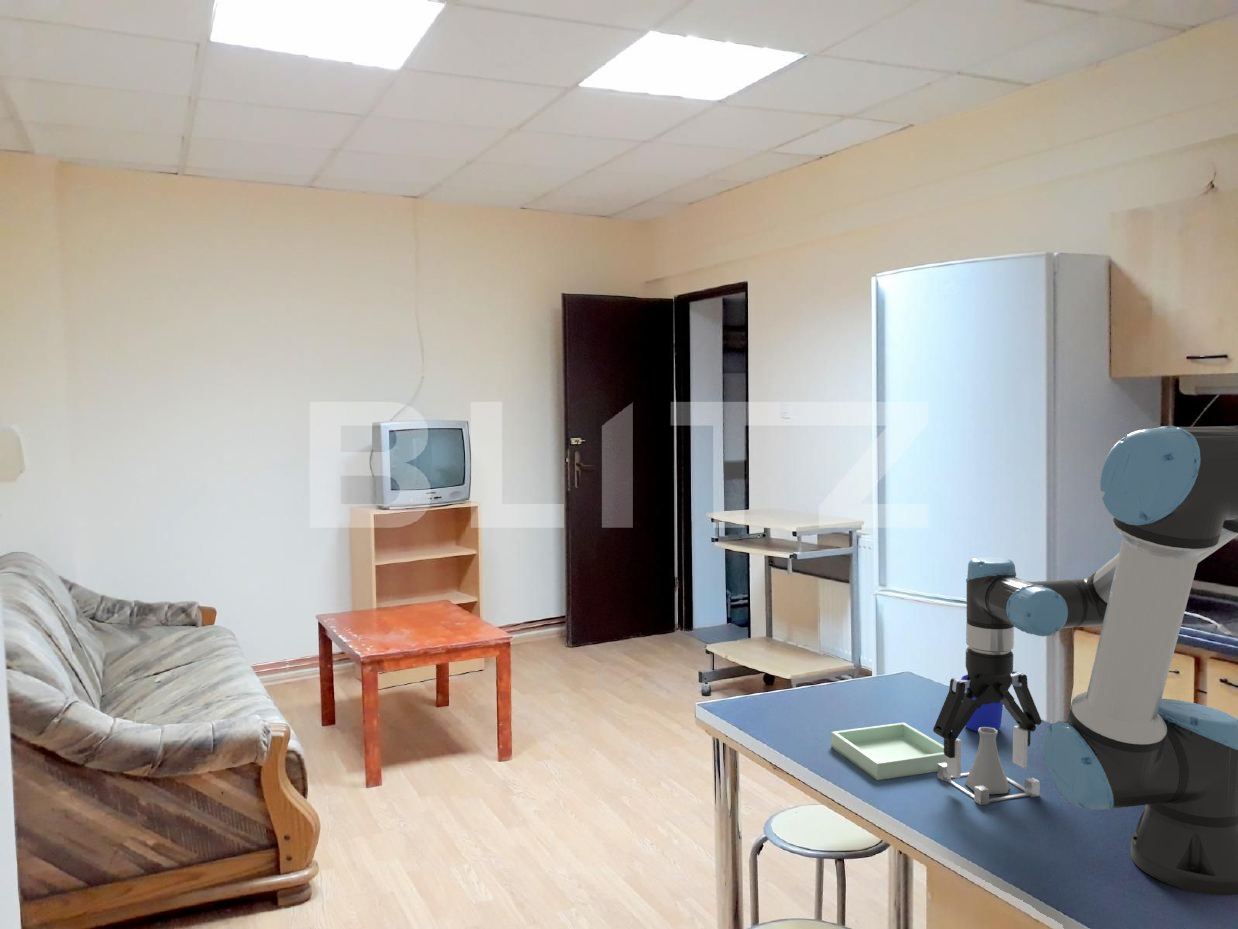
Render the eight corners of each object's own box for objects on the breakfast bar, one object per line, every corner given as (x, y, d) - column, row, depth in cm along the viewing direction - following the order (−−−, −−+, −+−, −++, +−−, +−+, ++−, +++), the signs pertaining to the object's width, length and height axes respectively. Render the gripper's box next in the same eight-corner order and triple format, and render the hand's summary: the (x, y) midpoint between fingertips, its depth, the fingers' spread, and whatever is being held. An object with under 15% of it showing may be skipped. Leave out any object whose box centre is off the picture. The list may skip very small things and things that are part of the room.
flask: (1014, 797, 153) (1015, 739, 152) (968, 794, 154) (969, 736, 154) (1005, 779, 160) (1006, 724, 159) (961, 776, 162) (962, 721, 161)
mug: (1010, 720, 189) (1011, 672, 188) (1000, 739, 179) (1000, 689, 178) (969, 713, 193) (969, 666, 192) (956, 731, 183) (957, 682, 182)
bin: (955, 768, 165) (955, 752, 165) (877, 780, 160) (877, 763, 160) (903, 737, 180) (904, 722, 180) (831, 747, 176) (831, 732, 175)
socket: (1039, 795, 153) (1039, 781, 153) (980, 805, 150) (980, 790, 150) (992, 769, 164) (993, 755, 164) (937, 777, 161) (937, 763, 161)
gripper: (1034, 636, 162) (1031, 752, 164) (913, 649, 156) (911, 770, 157) (1066, 647, 155) (1062, 769, 157) (940, 661, 148) (938, 788, 150)
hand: (987, 770), depth 157 cm, fingers open, 13 cm apart
